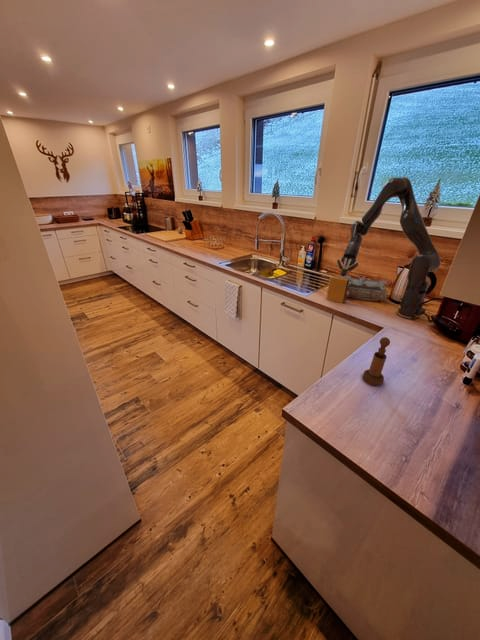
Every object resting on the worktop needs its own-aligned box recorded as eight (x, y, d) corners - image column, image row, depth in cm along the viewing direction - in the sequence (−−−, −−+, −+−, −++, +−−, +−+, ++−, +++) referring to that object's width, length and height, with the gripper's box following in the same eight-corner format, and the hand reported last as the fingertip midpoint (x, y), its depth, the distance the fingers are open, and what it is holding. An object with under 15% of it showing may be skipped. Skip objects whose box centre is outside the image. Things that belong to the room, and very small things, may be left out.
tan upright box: (344, 301, 156) (349, 279, 149) (343, 303, 153) (348, 280, 147) (327, 297, 160) (331, 275, 154) (326, 299, 158) (330, 277, 151)
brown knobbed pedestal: (365, 385, 93) (378, 342, 84) (360, 373, 99) (372, 332, 90) (384, 387, 92) (400, 344, 83) (379, 375, 98) (393, 334, 89)
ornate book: (337, 299, 160) (392, 304, 152) (340, 284, 156) (396, 289, 148) (337, 286, 179) (385, 290, 171) (339, 273, 175) (389, 276, 166)
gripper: (340, 245, 160) (331, 270, 157) (363, 249, 154) (354, 274, 151) (341, 252, 167) (332, 276, 163) (363, 256, 160) (354, 280, 157)
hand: (342, 275), depth 157 cm, fingers closed
